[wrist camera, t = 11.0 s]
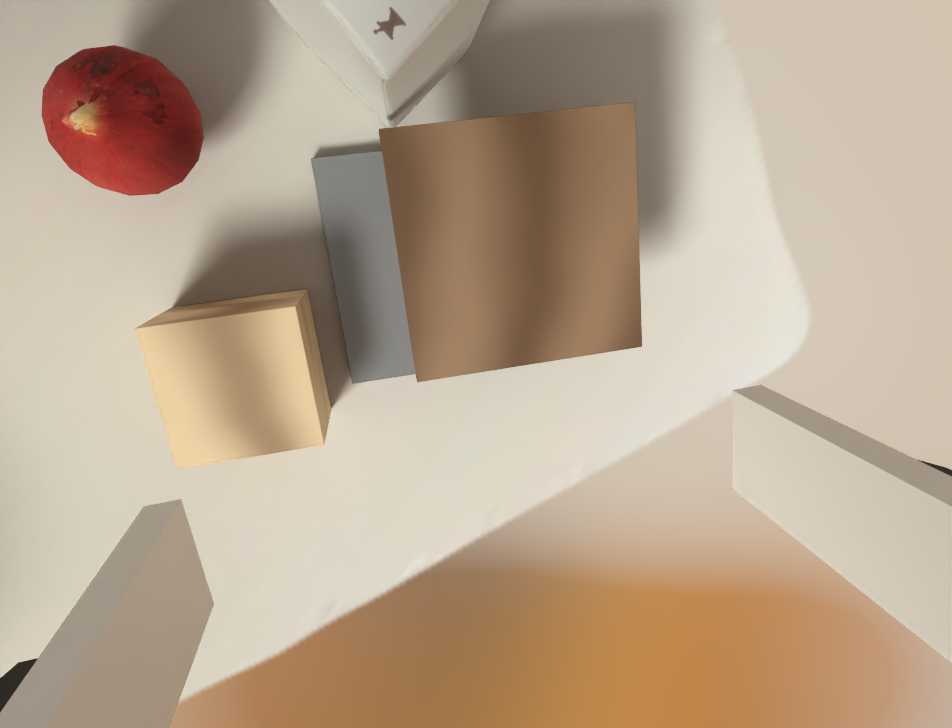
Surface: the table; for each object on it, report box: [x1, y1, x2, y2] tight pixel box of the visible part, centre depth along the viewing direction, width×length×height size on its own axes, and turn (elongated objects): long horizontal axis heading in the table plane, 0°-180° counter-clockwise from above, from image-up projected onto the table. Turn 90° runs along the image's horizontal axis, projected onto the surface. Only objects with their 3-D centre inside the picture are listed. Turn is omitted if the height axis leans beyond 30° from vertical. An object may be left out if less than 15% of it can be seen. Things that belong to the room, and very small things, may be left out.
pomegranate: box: [42, 45, 204, 196], centre depth 25 cm, size 6×6×8 cm
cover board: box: [379, 102, 642, 382], centre depth 27 cm, size 11×11×2 cm
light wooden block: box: [135, 289, 331, 469], centre depth 30 cm, size 7×7×5 cm
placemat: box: [311, 151, 415, 384], centre depth 33 cm, size 16×12×1 cm
